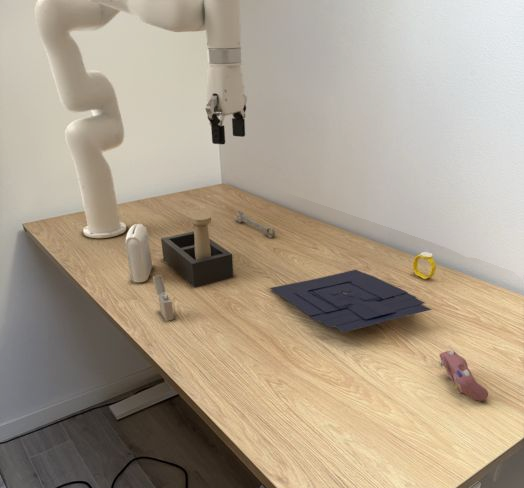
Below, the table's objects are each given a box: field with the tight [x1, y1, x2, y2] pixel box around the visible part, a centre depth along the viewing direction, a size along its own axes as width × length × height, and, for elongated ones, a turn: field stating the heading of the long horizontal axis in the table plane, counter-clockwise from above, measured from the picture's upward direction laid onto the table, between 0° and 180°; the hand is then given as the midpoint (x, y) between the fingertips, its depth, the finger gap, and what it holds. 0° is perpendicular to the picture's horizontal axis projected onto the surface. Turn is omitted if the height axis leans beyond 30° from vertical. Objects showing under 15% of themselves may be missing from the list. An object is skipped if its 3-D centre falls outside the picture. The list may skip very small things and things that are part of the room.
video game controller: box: [438, 349, 489, 402], centre depth 86 cm, size 10×5×7 cm, turn 5°
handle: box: [188, 210, 212, 260], centre depth 124 cm, size 5×6×15 cm
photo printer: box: [125, 223, 153, 284], centre depth 125 cm, size 10×4×12 cm, turn 2°
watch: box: [412, 251, 437, 280], centre depth 123 cm, size 6×3×6 cm, turn 33°
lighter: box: [152, 274, 175, 322], centre depth 109 cm, size 7×2×8 cm, turn 26°
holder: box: [160, 230, 234, 288], centre depth 130 cm, size 20×11×6 cm, turn 31°
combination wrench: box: [235, 209, 276, 238], centre depth 154 cm, size 4×1×20 cm
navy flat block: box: [269, 269, 432, 333], centre depth 112 cm, size 24×30×4 cm
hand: (229, 139), depth 122 cm, fingers open, 9 cm apart
